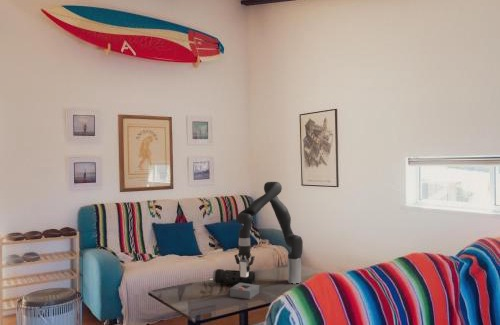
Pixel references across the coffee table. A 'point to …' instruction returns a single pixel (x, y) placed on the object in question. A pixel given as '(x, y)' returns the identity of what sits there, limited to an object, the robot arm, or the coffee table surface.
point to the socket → (244, 290)
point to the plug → (243, 268)
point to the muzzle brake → (232, 277)
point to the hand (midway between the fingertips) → (244, 271)
